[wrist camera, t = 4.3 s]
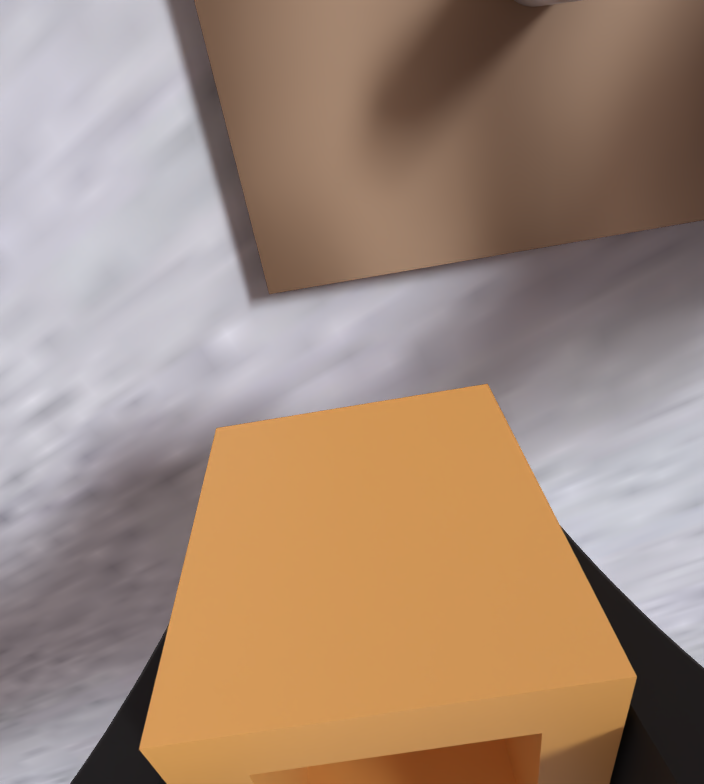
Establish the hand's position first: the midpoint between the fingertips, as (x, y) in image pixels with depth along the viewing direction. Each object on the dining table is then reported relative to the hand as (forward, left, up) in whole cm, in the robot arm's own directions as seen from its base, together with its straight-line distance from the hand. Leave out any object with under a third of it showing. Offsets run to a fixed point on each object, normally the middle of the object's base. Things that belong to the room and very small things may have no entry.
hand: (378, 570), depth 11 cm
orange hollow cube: (0, 0, -2) cm, 2 cm away
